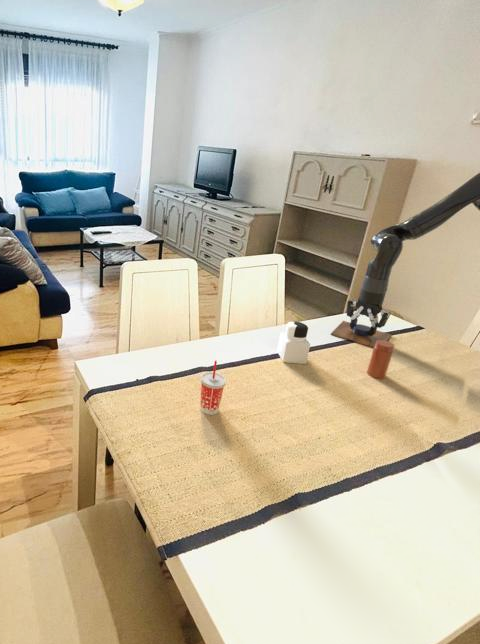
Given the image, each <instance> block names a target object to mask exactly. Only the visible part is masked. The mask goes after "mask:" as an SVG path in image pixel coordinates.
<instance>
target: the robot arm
mask: <svg viewBox="0 0 480 644" xmlns="http://www.w3.org/2000/svg"><path fill="white" fill-rule="evenodd" d="M471 204H472V205H473V206H474V207H475V209H477V210H478V211H479V212H480V172H478V173H477V174H475V175H474V176H472V177H471V178H470V179H468V180H467V181H466V182H464V183H463V184H462V185H460V186H459V187H457V188H456V189H454V190H453V191H452V192H450V193H449V194H447V195H446V196H444V197H443V198H441V199H440V200H438V201H437V202H435V203H434V204H431V206H429V207H427V208H425V209H424V210H422V211H420V212H418V213H416V214H415V215H413V216H411V217H409V218H408V219H405V220H403V221H402V222H399V223H396V224H394V225H391V226H388V227H385V228H383V229H381V230H379V231H377V232H376V233H375V234H374V235H373V236H372V237H371V239H370V246H371V248H372V249H373V250H374V251H376V252H377V253H376V255H375V258H372V259H370V260H369V262H368V263H367V267H366V271H365V275H364V278H363V280H362V283H361V286H360V290H359V294H358V296H357V300H355V299H349V300H348V301H347V303H346V304H347V305H346V316H347V317H349V318H350V322H349V323H350V327H351V329H353V326H354V325H355V324H358V319H359V317H361V315H362V316H365V317H367V318H368V320H369V321H370V325H371V326H369V327H370V330H369V334H368V336H373V335H375V333H376V330H377V329H381V328H382V327H385V325H386V324H387V322H388V320H389V318H390V316H391V315H392V312H391V311H386V310H384V309H383V304H384V300H385V298H386V294H387V291H388V287H389V282H390V281H389V280H390V277H391V274H392V271H393V267H394V265H395V264H396V262H397V261H398V259H399V258H400V256H401V254H402V251H403V248H404V241H415V240H417V239H420V238H422V237H423V236H425V235H427V234H429V233H431V232H433V231H435V230H436V229H438V228H439V227H441V226H442V225H444V224H445V223H447V222H448V221H449V220H451V218H452V217H454V216H455V215H457V214H458V213H459V212H460V211H461V210H463V209H465V208H466V207H467V206H469V205H471ZM355 307H356V309H357V310H356V311H355ZM379 314H380V319H379ZM377 331H378V330H377Z"/></svg>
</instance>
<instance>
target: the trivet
mask: <svg viewBox="0 0 480 644" xmlns="http://www.w3.org/2000/svg"><path fill="white" fill-rule="evenodd" d="M350 323H351V322H349V321H346V320H342V321H341V323H339V324H338V325H337V327H336V328H335V329H333V330H332V332H331V333H330V335H331V336H333V337H337V338H340V339H343V340H346V341H349V342H353V343H356V344H358V345H362V346H365V347H369V348H372V349H374V346H375V344H376V341H377V340H385V341H388V340H389V339H390V337H391V333H387V332H384V331H381V330H376V333H375V335H373V336H364V335H359V334H357V333H355V332H353V329H351V327H350Z"/></svg>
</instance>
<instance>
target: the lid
mask: <svg viewBox="0 0 480 644" xmlns="http://www.w3.org/2000/svg"><path fill="white" fill-rule="evenodd" d="M370 327H371V326H367V325H364V324H360V323H357V324H355V325H354V326H353V332H355V333H357V334H359V335H364V336H368V334H369V330H370Z"/></svg>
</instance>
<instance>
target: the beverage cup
mask: <svg viewBox="0 0 480 644" xmlns="http://www.w3.org/2000/svg"><path fill="white" fill-rule="evenodd" d="M217 363H218V362H217V360H214V364H213V371H207V372H203V373H202V374H201V376H200V383H201V384H200V399H199V400H200V402H199V409H200V411H201V412H202V413H204V414H205V415H210V416H215V415H216V414H218V413H219V410H220V406H221V401H222V397H223V392H224V388H225V386H226V382H227V379H226V378H225V376H224V375H222V374H220V373H218V372H216V370H217Z"/></svg>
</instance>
